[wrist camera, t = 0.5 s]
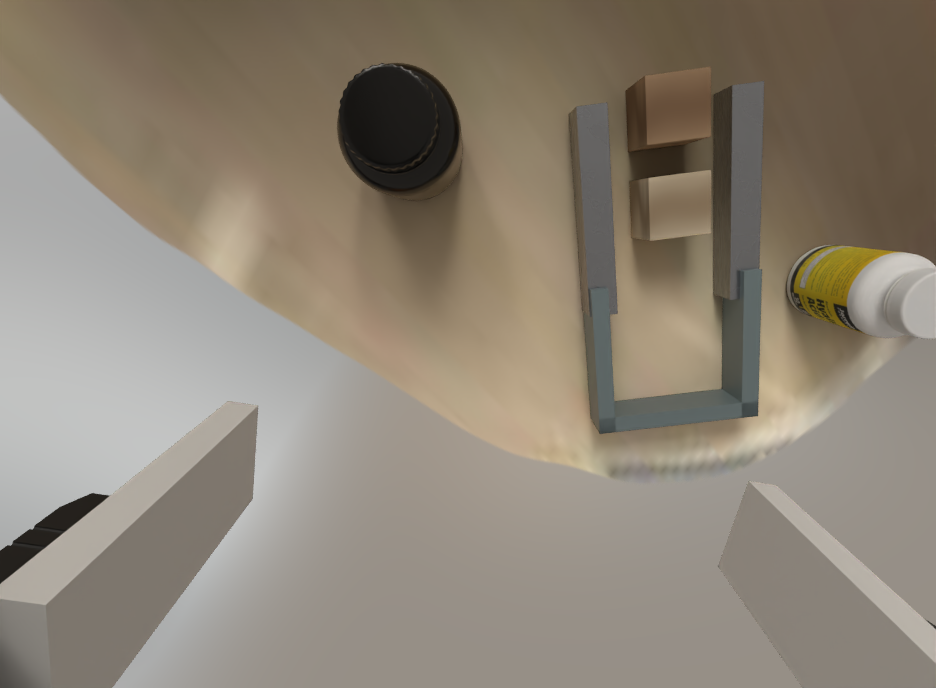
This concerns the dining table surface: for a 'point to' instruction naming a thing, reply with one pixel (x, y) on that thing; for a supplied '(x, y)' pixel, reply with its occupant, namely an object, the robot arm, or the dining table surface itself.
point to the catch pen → (687, 407)
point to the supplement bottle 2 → (866, 290)
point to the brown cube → (669, 109)
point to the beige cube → (671, 206)
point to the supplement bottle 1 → (400, 131)
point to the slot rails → (732, 192)
